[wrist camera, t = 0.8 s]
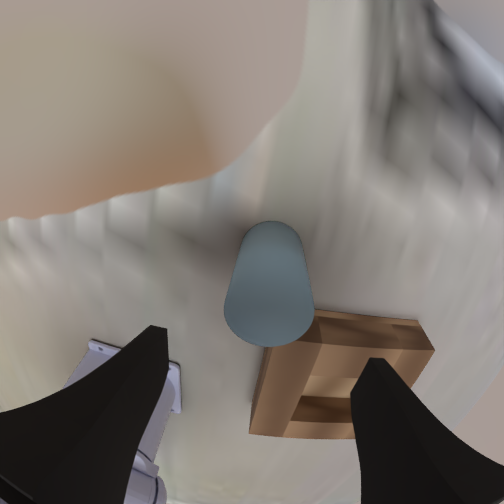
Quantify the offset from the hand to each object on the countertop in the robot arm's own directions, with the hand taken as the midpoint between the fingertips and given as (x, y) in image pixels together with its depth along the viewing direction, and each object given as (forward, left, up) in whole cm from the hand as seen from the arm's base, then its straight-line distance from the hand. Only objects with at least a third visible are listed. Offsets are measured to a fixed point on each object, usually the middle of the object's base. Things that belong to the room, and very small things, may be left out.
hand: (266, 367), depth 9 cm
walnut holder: (+7, -10, -10) cm, 16 cm away
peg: (0, 0, -10) cm, 10 cm away
